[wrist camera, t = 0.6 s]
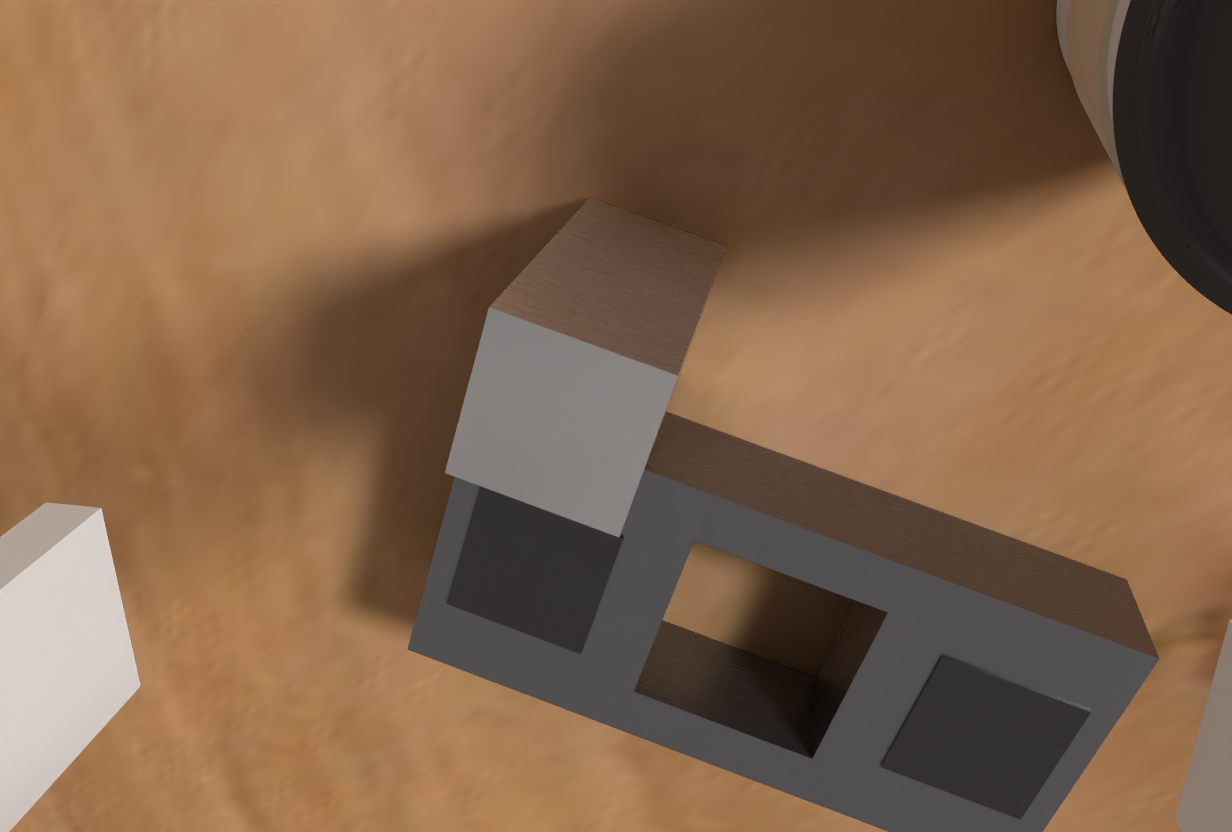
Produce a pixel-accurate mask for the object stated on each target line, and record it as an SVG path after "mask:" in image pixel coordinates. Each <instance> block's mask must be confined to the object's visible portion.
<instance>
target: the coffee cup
mask: <svg viewBox="0 0 1232 832" xmlns="http://www.w3.org/2000/svg"><path fill="white" fill-rule="evenodd" d="M1056 21H1057V33H1058V39H1059V44H1060V48H1061V52H1062V55H1063V58H1064V61H1065V63H1066V65H1067V68H1068V70H1069V72H1070V74H1071V76H1072V80H1073V83H1074V86H1075V89H1076V92H1077V94H1078V97H1079V99H1080V102H1081V104H1082V106H1083V108H1084V110H1085V112H1086V114H1087V116H1088V117H1089V119H1090V121H1091V123H1092V125H1093V127H1094V129H1095V131H1096V133H1097V135H1098V137H1099V139H1100V140H1101V142H1102V144H1103V146H1104V148H1105V150H1106V152H1107V154H1108V156H1109V158H1110V160H1111V162H1112V163H1113V165H1114V167H1115V169H1116V171H1117V173H1118V175H1119V177H1120V179H1121V181H1122V183H1123V184H1124V186H1125V188H1126V189H1127V192H1128V195H1129V198H1130V200H1131V202H1132V205H1133V207H1134V209H1135V211H1136V213H1137V216H1138V218H1139V219H1140V221H1141V223H1142V225H1143V227H1144V229H1145V230H1146V232H1147V234H1148V235H1149V237H1150V238H1151V240H1152V241H1153V243H1154V244H1155V246H1156V247H1157V249H1158V250H1159V251H1160V253H1161V254H1162V255H1163V256H1164V258H1165V259H1166V260H1167V261H1168V262H1169V264H1170V265H1171V266H1172V267H1173V268H1174V269H1175V270H1176V271H1177V272H1178V273H1179V274H1180V276H1182V277H1183V278H1184V279H1185V280H1186V281H1187V282H1188V283H1189V284H1190V285H1191V286H1192V287H1193V288H1195V289H1196V290H1197V291H1198V292H1200V293H1201V294H1202V295H1203V296H1205V297H1206V298H1207V299H1209V300H1210V301H1211V302H1213V303H1214V304H1216V305H1217V306H1219V307H1220V308H1222V309H1223V310H1225V311H1227V312H1228V313H1230V314H1232V0H1057V9H1056Z"/></svg>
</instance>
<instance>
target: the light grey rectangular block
mask: <svg viewBox="0 0 1232 832" xmlns="http://www.w3.org/2000/svg"><path fill="white" fill-rule="evenodd" d="M725 249H726V246H724V245H721V244H719V243H716V242H713V241H710V240H707V239H705V238H702V237H699V236H696V235H693V234H691V233H688V232H685V231H682V230H679V229H677V228H674V227H671V226H668V225H665V224H663V223H660V222H657V221H654V220H651V219H649V218H646V217H643V216H640V215H637V214H635V213H632V212H629V211H626V210H623V209H621V208H618V207H615V206H612V205H609V204H607V203H604V202H601V201H598V200H595V199H592V198H589V199H588V200H587V201H586V202H585V203H584V204H583V205H582V207H581V208H580V209H579V210H578V211H577V212H576V213H575V214H574V215H573V216H572V217H571V219H570V220H569V221H568V222H567V223H566V224H565V225H564V226H563V227H562V228H561V229H560V231H559V232H558V233H557V234H556V235H555V236H554V237H553V238H552V239H551V240H550V241H549V242H548V244H547V245H546V246H545V247H544V248H543V249H542V250H541V251H540V252H539V253H538V254H537V256H536V257H535V258H534V259H533V260H532V261H531V262H530V263H529V264H528V265H527V266H526V268H525V269H524V270H523V271H522V272H521V273H520V274H519V275H518V276H517V277H516V278H515V279H514V281H513V282H512V283H511V284H510V285H509V286H508V287H507V288H506V289H505V290H504V291H503V293H502V294H501V295H500V296H499V297H498V298H497V299H496V300H495V301H494V302H493V303H492V305H491V306H490V307H489V309H488V313H487V317H486V320H485V324H484V328H483V332H482V335H481V339H480V343H479V347H478V350H477V354H476V358H475V362H474V365H473V369H472V373H471V376H470V380H469V384H468V388H467V391H466V395H465V399H464V403H463V406H462V410H461V414H460V418H459V421H458V425H457V429H456V433H455V436H454V440H453V444H452V448H451V451H450V455H449V459H448V463H447V466H446V470H445V473H446V474H449V475H452V476H454V477H457V478H460V479H463V480H465V481H468V482H471V483H473V484H476V485H479V486H481V487H484V488H487V489H490V490H492V491H495V492H498V493H500V494H503V495H506V496H508V497H511V498H514V499H517V500H519V501H522V502H525V503H527V504H530V505H533V506H535V507H538V508H541V509H544V510H546V511H549V512H552V513H554V514H557V515H560V516H562V517H565V518H568V519H571V520H573V521H576V522H579V523H581V524H584V525H587V526H589V527H592V528H595V529H598V530H600V531H603V532H606V533H608V534H611V535H614V536H616V537H620V534H621V531H622V529H623V526H624V523H625V521H626V518H627V515H628V513H629V510H630V507H631V504H632V502H633V499H634V496H635V494H636V491H637V488H638V486H639V483H640V480H641V478H642V475H643V472H644V470H645V467H646V464H647V461H648V459H649V456H650V453H651V451H652V448H653V445H654V443H655V440H656V437H657V435H658V432H659V429H660V427H661V424H662V421H663V418H664V416H665V413H666V410H667V408H668V405H669V402H670V400H671V397H672V394H673V392H674V389H675V386H676V384H677V381H678V378H679V375H680V373H681V370H682V367H683V365H684V362H685V359H686V356H687V354H688V351H689V348H690V345H691V343H692V340H693V337H694V334H695V332H696V329H697V326H698V323H699V321H700V318H701V315H702V312H703V310H704V307H705V304H706V301H707V299H708V296H709V293H710V290H711V288H712V285H713V282H714V279H715V277H716V274H717V271H718V268H719V266H720V263H721V260H722V257H723V255H724V252H725Z"/></svg>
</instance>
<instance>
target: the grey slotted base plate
mask: <svg viewBox="0 0 1232 832" xmlns="http://www.w3.org/2000/svg"><path fill="white" fill-rule="evenodd" d="M694 541H696V542H699V543H701V544H704V545H707V546H709V547H712V548H715V549H718V550H720V551H723V552H726V553H728V554H731V555H734V556H737V557H739V558H742V559H745V560H747V561H750V562H753V563H755V564H758V565H761V566H764V567H766V568H769V569H772V570H774V571H777V572H780V573H783V574H785V575H788V576H791V577H793V578H796V579H799V580H801V581H804V582H807V583H810V584H812V585H815V586H818V587H820V588H823V589H826V590H829V591H831V592H834V593H837V594H839V595H842V596H845V597H847V598H850V599H853V600H855V601H854V603H853V605H852V607H851V609H850V611H849V613H848V615H847V617H846V619H845V621H844V623H843V625H842V627H841V629H840V631H839V633H838V635H837V637H836V639H835V641H834V643H833V645H832V647H831V649H830V651H829V653H828V655H827V657H826V659H825V661H824V663H823V665H822V667H821V669H820V671H819V673H818V675H817V677H816V678H815V677H812V676H809V675H807V674H804V673H801V672H799V671H796V670H793V669H791V668H788V667H785V666H783V665H780V664H777V663H775V662H772V661H769V660H767V659H764V658H761V657H759V656H756V655H753V654H751V653H748V652H745V651H743V650H740V649H737V648H734V647H732V646H729V645H726V644H724V643H721V642H718V641H716V640H713V639H710V638H708V637H705V636H702V635H700V634H697V633H694V632H692V631H689V630H686V629H684V628H681V627H678V626H676V625H673V624H670V623H668V622H665V621H662V619H663V617H664V614H665V612H666V609H667V607H668V604H669V602H670V599H671V597H672V594H673V592H674V589H675V587H676V584H677V582H678V579H679V577H680V574H681V572H682V570H683V567H684V565H685V562H686V560H687V557H688V555H689V552H690V550H691V547H692V545H693V542H694ZM408 650H411V651H413V652H416V653H418V654H421V655H424V656H426V657H429V658H432V659H434V660H437V661H440V662H442V663H445V664H448V665H450V666H453V667H455V668H458V669H461V670H463V671H466V672H469V673H471V674H474V675H477V676H479V677H482V678H484V679H487V680H490V681H492V682H495V683H498V684H500V685H503V686H506V687H508V688H511V689H514V690H516V691H519V692H521V693H524V694H527V695H529V696H532V697H535V698H537V699H540V700H543V701H545V702H548V703H551V704H553V705H556V706H558V707H561V708H564V709H566V710H569V711H572V712H574V713H577V714H580V715H582V716H585V717H587V718H590V719H593V720H595V721H598V722H601V723H603V724H606V725H609V726H611V727H614V728H617V729H619V730H622V731H624V732H627V733H630V734H632V735H635V736H638V737H640V738H643V739H646V740H648V741H651V742H654V743H656V744H659V745H661V746H664V747H667V748H669V749H672V750H675V751H677V752H680V753H683V754H685V755H688V756H690V757H693V758H696V759H698V760H701V761H704V762H706V763H709V764H712V765H714V766H717V767H720V768H722V769H725V770H727V771H730V772H733V773H735V774H738V775H741V776H743V777H746V778H749V779H751V780H754V781H757V782H759V783H762V784H764V785H767V786H770V787H772V788H775V789H778V790H780V791H783V792H786V793H788V794H791V795H793V796H796V797H799V798H801V799H804V800H807V801H809V802H812V803H815V804H817V805H820V806H823V807H825V808H828V809H830V810H833V811H836V812H838V813H841V814H844V815H846V816H849V817H852V818H854V819H857V820H860V821H862V822H865V823H867V824H870V825H873V826H875V827H878V828H881V829H883V830H886V831H889V832H1043V830H1044V829H1045V827H1046V826H1047V824H1048V823H1049V821H1050V820H1051V818H1052V817H1053V816H1054V814H1055V813H1056V811H1057V810H1058V808H1059V807H1060V805H1061V804H1062V802H1063V801H1064V799H1065V798H1066V796H1067V795H1068V793H1069V792H1070V790H1071V789H1072V787H1073V786H1074V784H1075V783H1076V781H1077V780H1078V779H1079V777H1080V776H1081V774H1082V773H1083V771H1084V770H1085V768H1086V767H1087V765H1088V764H1089V762H1090V761H1091V759H1092V758H1093V756H1094V755H1095V753H1096V752H1097V750H1098V749H1099V747H1100V746H1101V744H1102V743H1103V742H1104V740H1105V739H1106V737H1107V736H1108V734H1109V733H1110V731H1111V730H1112V728H1113V727H1114V725H1115V724H1116V722H1117V721H1118V719H1119V718H1120V716H1121V715H1122V713H1123V712H1124V710H1125V709H1126V707H1127V706H1128V705H1129V703H1130V702H1131V700H1132V699H1133V697H1134V696H1135V694H1136V693H1137V691H1138V690H1139V688H1140V687H1141V685H1142V684H1143V682H1144V681H1145V679H1146V678H1147V676H1148V675H1149V673H1150V672H1151V670H1152V669H1153V668H1154V666H1155V665H1156V663H1157V662H1158V660H1159V657H1158V654H1157V652H1156V650H1155V647H1154V645H1153V642H1152V640H1151V637H1150V635H1149V633H1148V630H1147V628H1146V625H1145V623H1144V620H1143V618H1142V616H1141V613H1140V611H1139V608H1138V606H1137V603H1136V601H1135V598H1134V596H1133V594H1132V591H1131V589H1130V586H1129V584H1128V581H1127V580H1126V579H1123V578H1120V577H1118V576H1115V575H1112V574H1109V573H1107V572H1104V571H1101V570H1098V569H1096V568H1093V567H1090V566H1087V565H1085V564H1082V563H1079V562H1076V561H1074V560H1071V559H1068V558H1065V557H1063V556H1060V555H1057V554H1054V553H1052V552H1049V551H1046V550H1044V549H1041V548H1038V547H1035V546H1033V545H1030V544H1027V543H1024V542H1022V541H1019V540H1016V539H1013V538H1011V537H1008V536H1005V535H1002V534H1000V533H997V532H994V531H991V530H989V529H986V528H983V527H980V526H978V525H975V524H972V523H969V522H967V521H964V520H961V519H958V518H956V517H953V516H950V515H948V514H945V513H942V512H939V511H937V510H934V509H931V508H928V507H926V506H923V505H920V504H917V503H915V502H912V501H909V500H906V499H904V498H901V497H898V496H895V495H893V494H890V493H887V492H884V491H882V490H879V489H876V488H873V487H871V486H868V485H865V484H862V483H860V482H857V481H854V480H852V479H849V478H846V477H843V476H841V475H838V474H835V473H832V472H830V471H827V470H824V469H821V468H819V467H816V466H813V465H810V464H808V463H805V462H802V461H799V460H797V459H794V458H791V457H788V456H786V455H783V454H780V453H777V452H775V451H772V450H769V449H766V448H764V447H761V446H758V445H756V444H753V443H750V442H747V441H745V440H742V439H739V438H736V437H734V436H731V435H728V434H725V433H723V432H720V431H717V430H714V429H712V428H709V427H706V426H703V425H701V424H698V423H695V422H692V421H690V420H687V419H684V418H681V417H679V416H676V415H673V414H670V413H668V412H666V413H665V416H664V418H663V421H662V424H661V427H660V429H659V432H658V435H657V437H656V440H655V443H654V445H653V448H652V451H651V453H650V456H649V459H648V461H647V464H646V467H645V470H644V472H643V475H642V478H641V480H640V483H639V486H638V488H637V491H636V494H635V496H634V499H633V502H632V504H631V507H630V510H629V513H628V515H627V518H626V521H625V523H624V526H623V529H622V531H621V534H620V537H616V536H614V535H611V534H608V533H606V532H603V531H600V530H598V529H595V528H592V527H589V526H587V525H584V524H581V523H579V522H576V521H573V520H571V519H568V518H565V517H562V516H560V515H557V514H554V513H552V512H549V511H546V510H544V509H541V508H538V507H535V506H533V505H530V504H527V503H525V502H522V501H519V500H517V499H514V498H511V497H508V496H506V495H503V494H500V493H498V492H495V491H492V490H490V489H487V488H484V487H481V486H479V485H476V484H473V483H471V482H468V481H465V480H463V479H460V478H457V477H454V481H453V484H452V488H451V492H450V495H449V499H448V503H447V506H446V510H445V514H444V517H443V521H442V525H441V528H440V532H439V536H438V539H437V543H436V547H435V550H434V554H433V558H432V561H431V565H430V569H429V572H428V576H427V580H426V583H425V587H424V591H423V594H422V598H421V602H420V605H419V609H418V613H417V616H416V620H415V624H414V627H413V631H412V635H411V638H410V642H409V646H408Z"/></svg>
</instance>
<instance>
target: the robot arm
mask: <svg viewBox="0 0 1232 832" xmlns="http://www.w3.org/2000/svg"><path fill="white" fill-rule="evenodd" d="M139 687H140V682H139V677H138V673H137V668H136V664H135V659H134V655H133V650H132V646H131V641H130V636H129V632H128V627H127V623H126V618H125V614H124V609H123V605H122V600H121V596H120V591H119V587H118V582H117V577H116V573H115V568H114V564H113V559H112V555H111V550H110V546H109V541H108V537H107V532H106V528H105V523H104V519H103V514H102V509H101V508H97V507H87V506H77V505H67V504H57V503H45V504H43V505H42V506H41V507H39V508H38V509H37V510H35V511H34V512H33V513H31V514H30V515H29V516H27V517H26V518H25V519H23V520H22V521H21V522H19V523H18V524H17V525H15V526H14V527H13V528H11V529H10V530H9V531H7V532H6V533H5V534H3V535H2V536H1V537H0V832H9V831H10V830H11V829H12V828H13V827H14V826H15V825H16V824H17V823H18V821H19V820H20V819H21V818H22V817H23V816H24V815H25V814H26V813H27V811H28V810H29V809H30V808H31V807H32V806H33V805H34V804H35V803H36V801H37V800H38V799H39V798H40V797H41V796H42V795H43V794H44V793H45V792H46V790H47V789H48V788H49V787H50V786H51V785H52V784H53V783H54V782H55V780H56V779H57V778H58V777H59V776H60V775H61V774H62V773H63V772H64V770H65V769H66V768H67V767H68V766H69V765H70V764H71V763H72V762H73V760H74V759H75V758H76V757H77V756H78V755H79V754H80V753H81V752H82V750H83V749H84V748H85V747H86V746H87V745H88V744H89V743H90V742H91V740H92V739H93V738H94V737H95V736H96V735H97V734H98V733H99V732H100V730H101V729H102V728H103V727H104V726H105V725H106V724H107V723H108V722H109V720H110V719H111V718H112V717H113V716H114V715H115V714H116V713H117V712H118V710H119V709H120V708H121V707H122V706H123V705H124V704H125V703H126V702H127V701H128V699H129V698H130V697H131V696H132V695H133V694H134V693H135V692H136V691H137V689H138V688H139ZM1175 820H1176V822H1177V825H1178V828H1179V830H1180V832H1232V620H1229V624H1228V627H1227V631H1226V634H1225V638H1224V642H1223V645H1222V649H1221V653H1220V656H1219V660H1218V663H1217V667H1216V671H1215V674H1214V678H1213V682H1212V685H1211V689H1210V692H1209V696H1208V700H1207V703H1206V707H1205V711H1204V714H1203V718H1202V721H1201V725H1200V729H1199V732H1198V736H1197V740H1196V743H1195V747H1194V750H1193V754H1192V758H1191V761H1190V765H1189V769H1188V772H1187V776H1186V779H1185V783H1184V787H1183V790H1182V794H1181V798H1180V801H1179V805H1178V808H1177V812H1176V816H1175Z"/></svg>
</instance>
